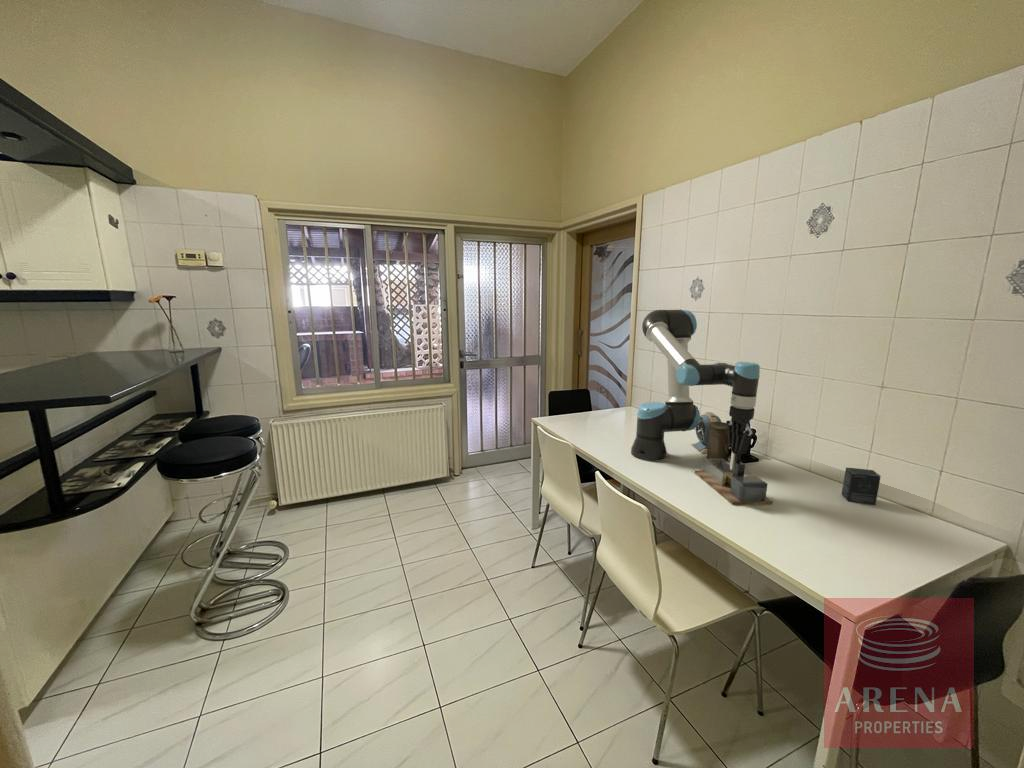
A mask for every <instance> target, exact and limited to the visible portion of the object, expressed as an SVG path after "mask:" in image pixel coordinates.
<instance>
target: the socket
mask: <svg viewBox="0 0 1024 768" xmlns="http://www.w3.org/2000/svg"><path fill="white" fill-rule="evenodd" d="M767 490H768V482H766V481H764V480H763V479H761V478H760V477H758V476H757V475H744V476H732V484H731V492H730V494H731V495H733V496H734V497H735V498H736V499H738V500H739V501H740V502H765V499H766V497H767Z"/></svg>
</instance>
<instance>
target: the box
mask: <svg viewBox="0 0 1024 768" xmlns="http://www.w3.org/2000/svg"><path fill="white" fill-rule="evenodd" d="M881 477H882V476H881V475H880V474H879V473H878V472H876V471H875V470H873V469H865V468H856V467H847V466H846V467H845V471H844V477H843V483H842V489H841V496H842V497H843V498H844V499H845V500H846V501H847V502H850V503H851V502H853V503H860V504H866V505H875V506H876V505H877V499H878V493H879V492H878V491H879V488H880V483H881Z"/></svg>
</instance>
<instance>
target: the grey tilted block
mask: <svg viewBox="0 0 1024 768" xmlns="http://www.w3.org/2000/svg"><path fill="white" fill-rule="evenodd" d="M730 463H731V462H727V461H726V460H724V459H723V458H714V459H706V458H703V459H702V468H701V469H702V471H703V472H705V473H706V474H707V475H708V476H710V477H711V478H712V479H713V480H715V481H716V482H717V483H718V484H720V485H721V486H725V480H726V472H731V473H732V474H733V471H734V470H731V469H730Z"/></svg>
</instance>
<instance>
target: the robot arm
mask: <svg viewBox="0 0 1024 768" xmlns="http://www.w3.org/2000/svg"><path fill="white" fill-rule="evenodd" d="M697 327H698V323H697V319H696V316H695V314H694V313H693V312H692V311H690V310H689V309H688V310H687V309H656V310H652V311H650V312H649V313H648V314H647V315H646V316H645V317H644V319H643V321H642V326H641V328H642V329H641V330H642V333H643V334H644V337H645V338H646V339H647V340H648V341H649V342H653V344H654V345H655V346H656V347H657V348H658V349H659V351H660V352H661V353H662V354H663V355H664V356H665V358H666V359H667V361H666V362H667V363H666V364H667V384H668V385H667V388H668V389H667V390H668V397H667V398H666V400H665V401H664V402H662V401H661V402H660V401H648V402H645V403H642V404H640V405H639V406H638V409H637V414H636V416H637V419H636V430H635V431H636V432H635V433H636V435H635V438H634V441H633V443H632V446H631V448H630V454H631V455H632V456H633V457H634V458H637V459H640V460H645V461H650V462H656V461H658V462H659V461H664V460H665V459H666V458H667V456H668V455H667V454H668V452H667V451H668V450H667V447H666V443H665V433H672V432H673V433H674V432H687V431H688V432H689V431H692V430H695V429H696V426H697V425H698V423H699V420H700V416H701V414H700V413H701V412H700V409H699V408H698V406H697V405H695V404H694V400H693V399H692V398H691V397H690V387H693V386H694V387H695V386H713V385H714V386H715V385H717V386H718V385H721V386H722V385H725V386H728V387H732V391H731V397H730V407H729V412H728V414H729V417H730V420H726V422H725V423H727V429H728V447H729V449H730V451H731V454H730V462H729V463H730V469H731V470H734V463H735V462H742V461H741V459H742V454H745V455H746V454H747V452H748V449H749V446H750V442H751V440H752V437H753V435H754V434H755V430H752V429H751V420H753V419H754V418H755V417H754V416H755V407H756V402H757V394H758V386H759V380H760V377H761V376H760V371H761V366H760V365H759V363H756V362H749V361H738V362H736V363H735V365H733V364H728V363H725V362H715V363H713V364H711V363H710V364H700V362H698V361H697V359H696V358H695V357H694V356H693V355H692V354H691V353H690V352H689V347H688V345H689V344H688V343H689V342H690V341H691V340H692V336H694V334H695V333H696V330H697Z"/></svg>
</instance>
